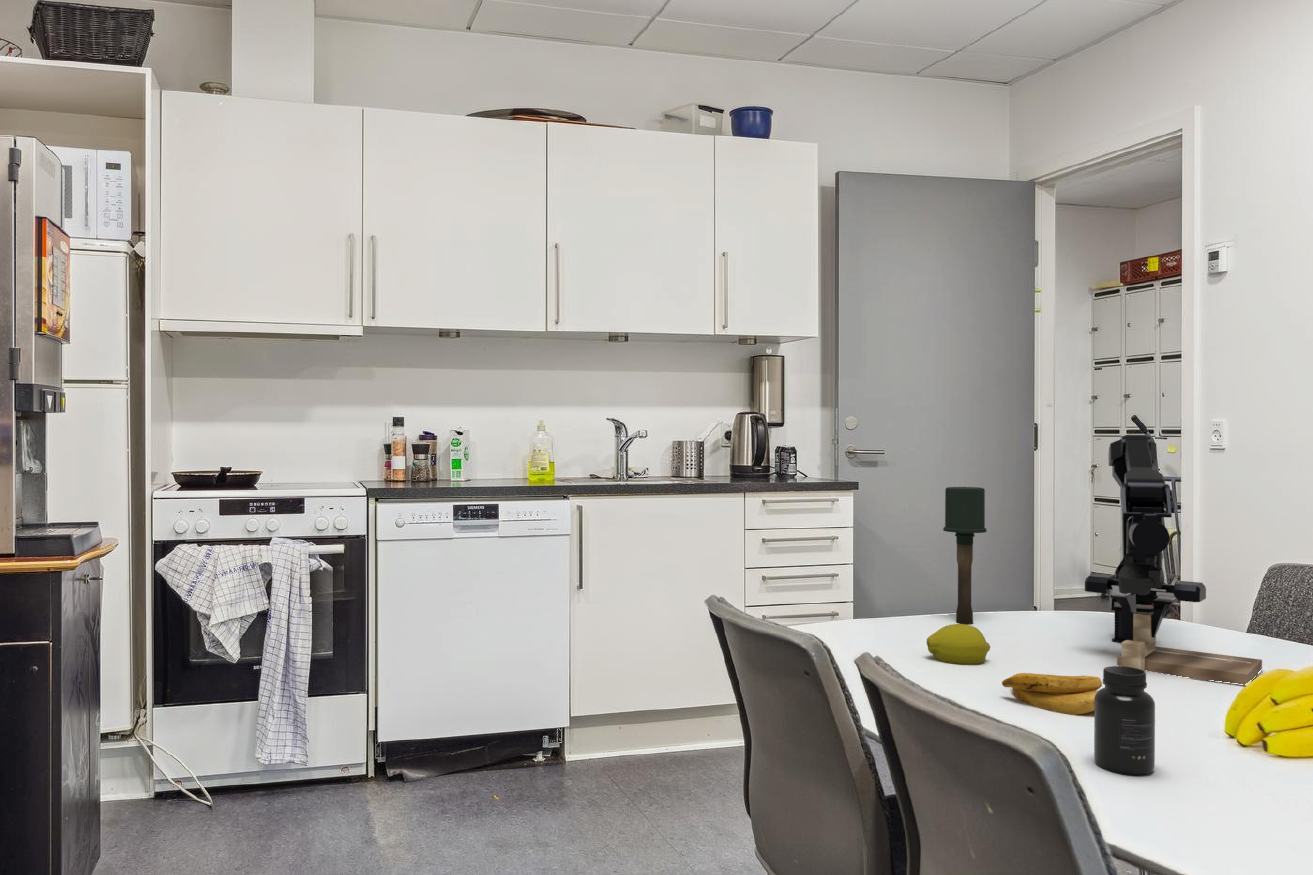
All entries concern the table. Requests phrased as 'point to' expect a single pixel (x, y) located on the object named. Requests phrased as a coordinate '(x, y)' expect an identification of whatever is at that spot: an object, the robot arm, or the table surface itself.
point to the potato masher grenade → (964, 538)
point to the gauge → (1138, 642)
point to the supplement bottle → (1124, 722)
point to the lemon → (958, 645)
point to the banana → (1056, 691)
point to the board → (1201, 665)
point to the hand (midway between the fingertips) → (1143, 635)
